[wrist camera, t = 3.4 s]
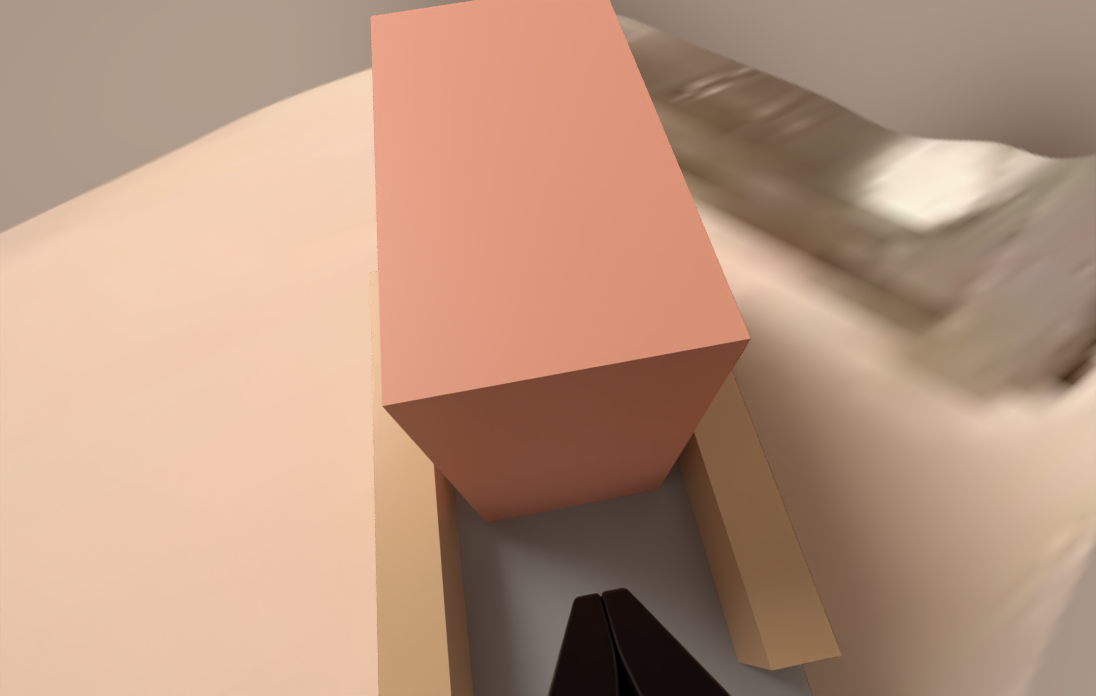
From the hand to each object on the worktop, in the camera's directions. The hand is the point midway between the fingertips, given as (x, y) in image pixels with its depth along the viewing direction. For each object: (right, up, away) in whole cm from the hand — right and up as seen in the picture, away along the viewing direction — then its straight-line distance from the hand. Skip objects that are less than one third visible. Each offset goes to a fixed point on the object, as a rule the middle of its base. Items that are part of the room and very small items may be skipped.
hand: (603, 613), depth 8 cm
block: (-1, +4, +9) cm, 10 cm away
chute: (-1, +6, +11) cm, 12 cm away
